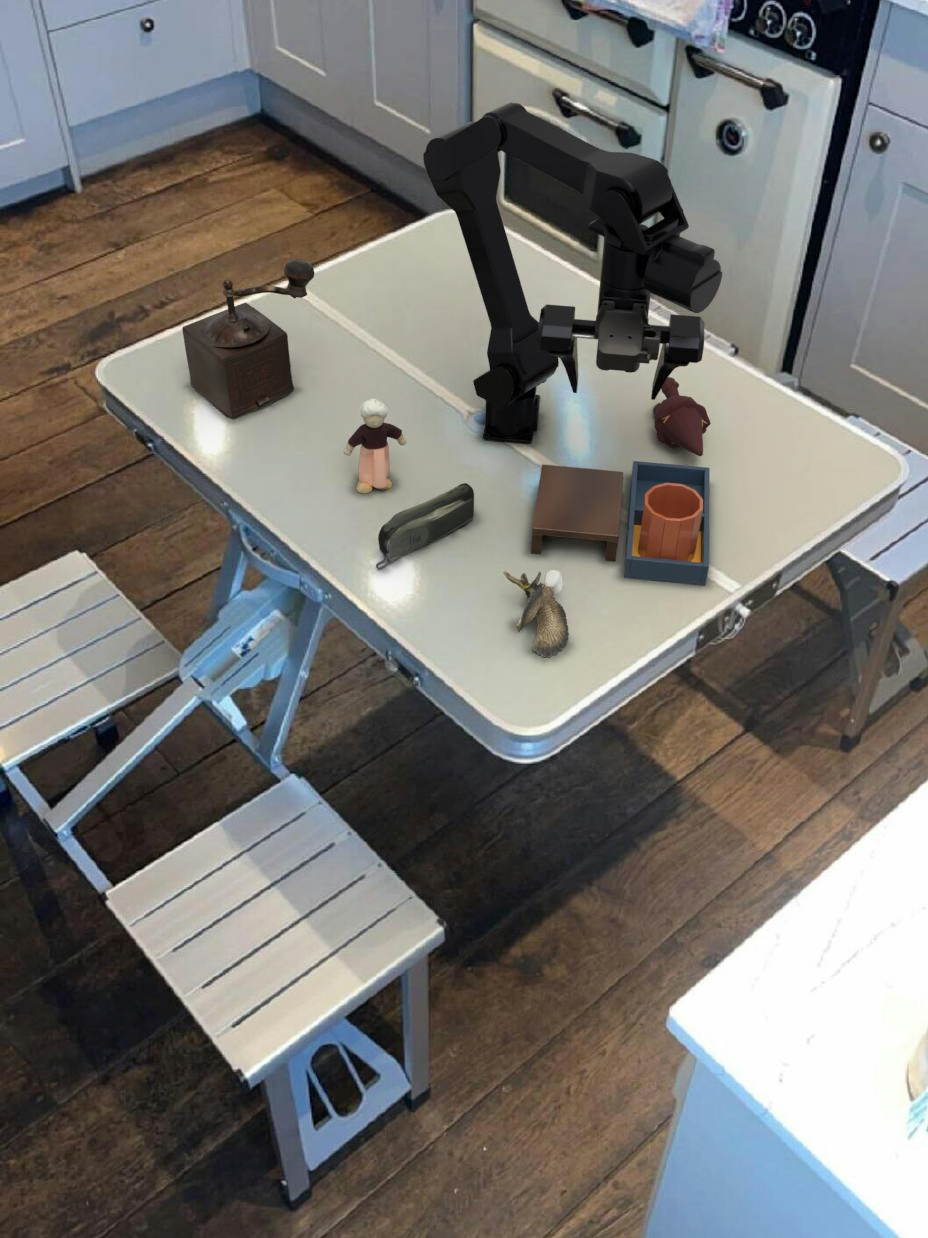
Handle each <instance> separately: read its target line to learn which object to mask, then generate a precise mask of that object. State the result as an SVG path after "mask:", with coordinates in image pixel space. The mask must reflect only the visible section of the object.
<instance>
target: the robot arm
mask: <svg viewBox="0 0 928 1238" xmlns="http://www.w3.org/2000/svg"><path fill="white" fill-rule="evenodd" d="M499 152H503V153H504V154H507V155H509V156H510V157H512V158H514V159H516V160H518V161H520V162H521V163H524V164H525V165H527V166H529V167H531V168H533V169H535V170H537V171H539V172H540V173H542V174H544V175H546V176H547V177H550V178H552V179H553V180H556V181H557V182H559V183H561V184H563V185H565V186H566V187H568V188H570V189H572V190H574V191H576V193H578V194H580V195H581V196H582V197H583V200H584V201H585V203H586V205H587V207H588V209H589V211H590V212H591V213H593V214H594V215H595V216H597V217H598V218H597V219H595V220H593V221H591V222H590V223H589V224H588V225H587V229H588V231H590V232H592V233H594V234H597V235H599V236H601V237H602V238H603V247H602V257H601V268H600V280H599V291H598V300H597V301H598V302H597V311H596V316H595V320H592V319H582V318H581V319H578V318H576V306H573V305H558V304H549V303H547V304H545V305H544V306H543V307H542V308H540V313H539V319H538V320H537V319H536V318H534V316H533V315H532V314H531V312H530V310H529V307H528V302H527V300H526V296H525V293H524V290H523V289H524V288H523V286H522V282H521V279H520V276H519V273H518V270H517V266H516V263H515V260H514V255H513V252H512V249H511V246H510V241H509V239H508V236H507V235H508V234H507V231H506V229H505V225H504V221H503V219H502V216H501V215H502V214H501V212H500V208H499V205H498V201H497V195H498V191H499V184H500V178H501V173H502V172H501V171H502V170H501V164H500V158H499ZM422 157H423V159H422V160H423V164H424V168H425V171H426V173H427V176H428V178H429V180H430V183H431V185H432V187H433V189H434V192H435V194H436V196H437V197H438V198H440V199H441V201H443V202H444V203H445V204H446V205H447V206H448V208H450V209H451V210H452V211H453V212H454V213H455V215H456V217H457V221H458V224H459V226H460V230H461V234H462V237H463V240H464V243H465V246H466V247H465V248H466V249H467V250H466V251H467V252H468V257H469V259H470V262H471V265H472V269H473V272H474V275H475V278H476V281H477V285H478V288H479V292H480V294H481V298H482V301H483V304H484V308H485V311H486V313H487V316H488V320H489V323H490V334H489V338H488V344H487V349H486V355H487V361H488V366H489V370H487V371H486V372H484V373H483V374H481V375H479V376H478V377H476V378H475V379H473V381H472V383H473V386H474V391H475V395H476V396H477V397H479V398H481V399H482V400H484V401H485V407H484V408H485V410H484V411H485V412H484V426H483V431H482V439H483V440H486V441H495V442H506V443H517V444H527V445H528V444H529V445H530V444H532V443H533V441H534V433H537V432H538V430H539V429H538V428H539V422H540V413H541V412H540V411H541V410H540V409H541V395H540V394H537V387H538V386H540V385H541V384H544V383H546V382H547V380H548V379H549V378H550V377H552V376H554V374H555V373H556V371H557V369H558V368H559V366H560V365H559V363H560V362H559V359H560V361H561V363H562V365H563V367H564V369H565V372H566V375H567V378H568V381H569V385H570V387H571V391H572V393H573V394H577V393H578V385H579V357H578V339H587V340H597V346H596V356H595V357H596V358H595V365H596V367H597V368H598V370H601V371H619V372H621V371H622V372H625V373H629V374H631V373H636V372H637V371H638V370H639V369H640V365H641V364H650V362H651V361H657V363H656V364H657V365H656V368H655V373H654V376H653V380H652V387H651V388H652V389H651V395H650V400H652V401H655V400H656V399H657V396H658V395H659V393H660V392H661V391H662V390H661V388H662V386H663V384H664V383H665V381H666V379H667V378H668V377H670V375H671V374H672V372H673V371H674V370H675V369H677V368H679V367H685V368H686V367H687V366H689V365H690V363H693V364H698V363H700V362H702V359H703V355H704V349H705V321H704V320H703V318H702V316H698V315H696V316H695V315H684V314H671V313H670V316H669V320H668V321H669V322H668V325H661V324H651V323H649V312H650V303H651V295H654V296H656V297H658V298H660V299H663V300H665V301H667V302H669V303H672V304H674V305H676V306H678V307H681V308H683V309H685V310H687V311H689V312H691V313H694V314H700V313H702V312H703V311H705V310H706V309H707V308H708V307H709V306H710V305H711V303H712V302H713V300H714V299H715V297H716V296H717V293H718V291H719V288H720V286H721V283H722V279H723V271H722V267H721V264H720V262H719V261H718V260H717V259H715V254H716V251H715V248H712V247H710V246H707V245H705V244H699V243H696V242H694V241H692V240H689V239H688V238H684V237H682V236H681V233H683V232H684V231H687V230H688V229H689V227H690V226H689V222H688V219H687V217H686V215H685V212H684V209H683V207H682V205H681V203H680V200H679V198H678V196H677V193H676V191H675V187H674V186H673V183H672V180H671V178H670V176H669V170H668V168H667V167H666V166H665V165H664V164H663V163H662V162H660V161H659V160H657V159H655V158H652V157H648V156H644V155H641V154H637V153H634V152H626V151H621V152H620V151H608V150H605V149H602V148H599V147H597V146H595V145H594V144H591V143H589V142H588V141H585V140H583V139H581V138H579V137H578V136H576V135H573V134H572V133H570V132H568V131H566V130H564V129H562V128H560V127H558V126H557V125H554V124H553V123H550V122H548V121H547V120H544V119H543V118H541V117H538V116H536V114H535V115H534V114H532V113H530V112H528V110H527V109H526V108H525V106H524V105H522V104H521V103H517V102H506V103H505V104H503V105H500V106H498V107H496V108H494V109H491V110H489V111H487V112H486V113H484V114H483V115H482V117H481V118H479V119H478V120H477V121H469V122H466V123H464V124H462V125H459V126H458V127H455V128H453V129H450V130H449V131H447V132H445V133H443V134H441V135H439V136H436V137H435V138H432V139H430V140H429V142H428V143H426V146H425V150H424V152H423V154H422ZM658 214H660V215H661V217H662V219H660V220H659V221H657V222H656V223H654V224H652V225H651V226H648V225H646V224H643V223H645V222H647V221H648V220H650V219H652V218H653V217H655V216H656V215H658ZM660 346H661V349H660Z"/></svg>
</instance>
